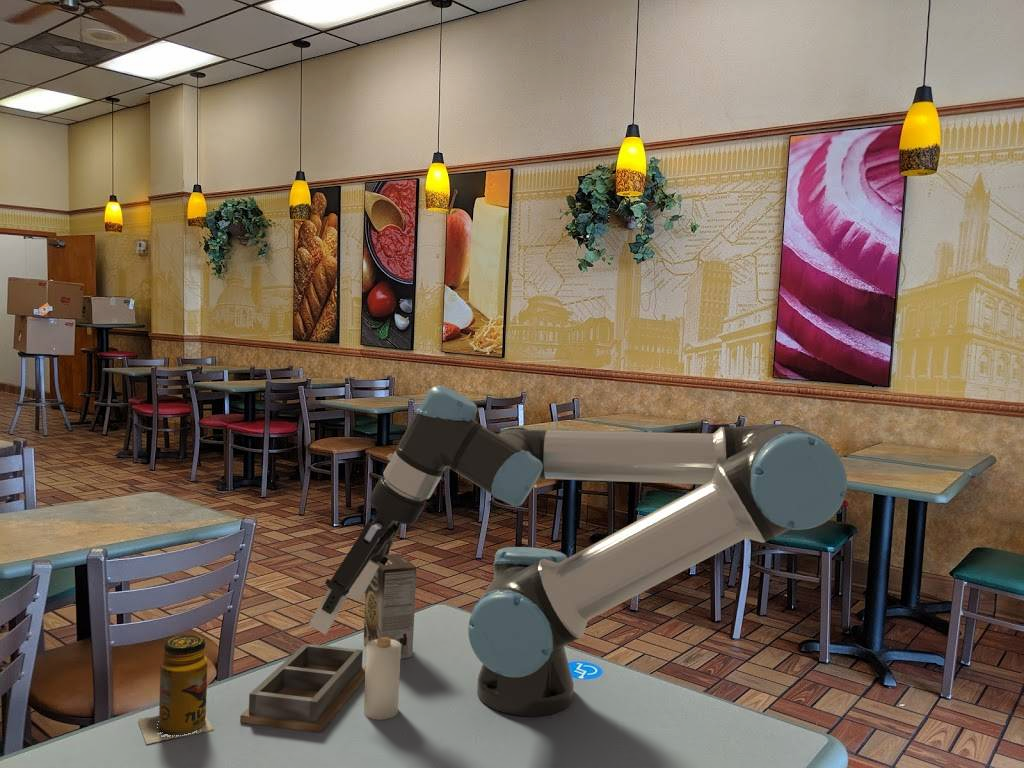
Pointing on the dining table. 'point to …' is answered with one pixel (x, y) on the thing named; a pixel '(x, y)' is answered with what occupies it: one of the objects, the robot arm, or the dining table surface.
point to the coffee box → (392, 603)
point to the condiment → (180, 691)
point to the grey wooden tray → (306, 688)
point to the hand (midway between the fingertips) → (336, 611)
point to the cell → (382, 678)
